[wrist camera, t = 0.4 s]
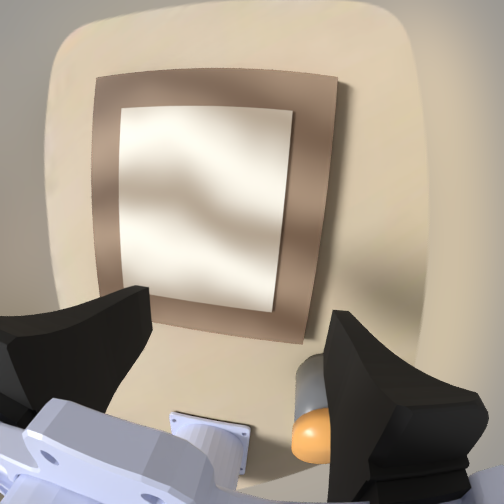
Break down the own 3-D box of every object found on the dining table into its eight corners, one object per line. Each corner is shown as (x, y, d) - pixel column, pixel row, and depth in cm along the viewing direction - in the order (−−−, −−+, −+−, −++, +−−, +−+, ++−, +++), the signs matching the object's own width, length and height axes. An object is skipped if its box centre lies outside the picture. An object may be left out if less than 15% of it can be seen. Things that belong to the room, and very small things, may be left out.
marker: (339, 389, 25) (348, 464, 17) (291, 385, 25) (286, 461, 17) (352, 350, 23) (367, 427, 16) (299, 346, 24) (297, 424, 16)
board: (302, 336, 23) (302, 346, 22) (107, 305, 25) (100, 312, 24) (335, 80, 17) (338, 76, 16) (103, 79, 19) (94, 77, 18)
